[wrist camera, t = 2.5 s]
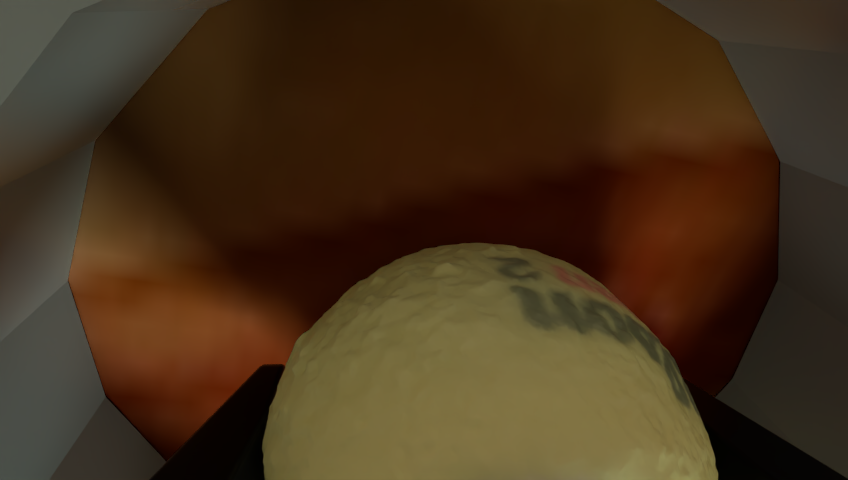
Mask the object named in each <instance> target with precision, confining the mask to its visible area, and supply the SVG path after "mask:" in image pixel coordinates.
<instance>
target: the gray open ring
mask: <svg viewBox="0 0 848 480" xmlns="http://www.w3.org/2000/svg"><path fill="white" fill-rule="evenodd" d="M227 1H229V0H0V480H149V479H150V478H151V477H152V476H153V475H154V474H155V473H156V472H157V471H158V470H159V469H160V468H161V467H162V466H163V465H164V464H165V463H166V461H165V460H164V459H163V458H162V456H161V455H160V454H159V453H158V452H157V451H156V450H155V449H154V448H153V447H152V446H151V445H150V444H149V443H148V442H147V440H146V439H145V438H144V437H143V436H142V435H141V434H140V433H139V432H138V431H137V430H136V429H135V428H134V427H133V426H132V424H131V423H130V422H129V421H128V420H127V419H126V418H125V417H124V416H123V415H122V414H121V413H120V412H119V411H118V410H117V408H116V407H115V406H114V405H113V404H112V403H111V402H110V401H109V400H108V399H107V398H106V396H105V393H104V390H103V387H102V384H101V381H100V378H99V375H98V372H97V369H96V366H95V363H94V360H93V357H92V354H91V350H90V347H89V344H88V341H87V338H86V335H85V332H84V329H83V326H82V323H81V320H80V317H79V314H78V311H77V308H76V305H75V302H74V298H73V295H72V292H71V289H70V286H69V283H68V277H69V272H70V267H71V261H72V256H73V251H74V246H75V241H76V236H77V231H78V226H79V221H80V216H81V210H82V205H83V200H84V195H85V190H86V185H87V180H88V175H89V170H90V164H91V159H92V154H93V149H94V144H95V140H96V139H97V138H98V137H99V136H100V134H101V133H102V132H103V131H104V130H105V129H106V127H107V126H108V125H109V124H110V123H111V122H112V120H113V119H114V118H115V117H116V116H117V115H118V113H119V112H120V111H121V110H122V109H123V108H124V106H125V105H126V104H127V103H128V102H129V101H130V99H131V98H132V97H133V96H134V95H135V94H136V92H137V91H138V90H139V89H140V88H141V87H142V85H143V84H144V83H145V82H146V81H147V80H148V78H149V77H150V76H151V75H152V74H153V73H154V71H155V70H156V69H157V68H158V67H159V66H160V64H161V63H162V62H163V61H164V60H165V59H166V57H167V56H168V55H169V54H170V53H171V52H172V50H173V49H174V48H175V47H176V46H177V45H178V43H179V42H180V41H181V40H182V39H183V38H184V36H185V35H186V34H187V33H188V32H189V31H190V29H191V28H192V27H193V26H194V25H195V24H196V22H197V21H198V20H199V19H200V18H201V17H202V15H203V14H204V13H205V12H206V11H207V10H208V9H210V8H212V7H214V6H217V5H219V4H222V3H224V2H227ZM656 1H658V2H659V3H661V4H663V5H664V6H666V7H667V8H669V9H670V10H672V11H673V12H675V13H676V14H678V15H680V16H681V17H683V18H684V19H686V20H687V21H689V22H690V23H692V24H693V25H695V26H697V27H698V28H700V29H701V30H703V31H704V32H706V33H707V34H709V35H710V36H712V37H714V38H715V39H717V40H718V41H719V43H720V45H721V47H722V49H723V51H724V52H725V54H726V56H727V58H728V60H729V62H730V64H731V66H732V68H733V70H734V72H735V74H736V76H737V78H738V80H739V82H740V84H741V86H742V88H743V90H744V91H745V93H746V95H747V97H748V99H749V101H750V103H751V105H752V107H753V109H754V111H755V113H756V115H757V117H758V119H759V121H760V123H761V125H762V127H763V129H764V130H765V132H766V134H767V136H768V138H769V140H770V142H771V144H772V146H773V148H774V150H775V152H776V154H777V156H778V158H779V160H780V202H779V250H778V281H777V283H776V285H775V287H774V289H773V292H772V294H771V296H770V298H769V300H768V302H767V305H766V307H765V309H764V311H763V313H762V315H761V318H760V320H759V322H758V324H757V326H756V329H755V331H754V333H753V335H752V337H751V339H750V342H749V344H748V346H747V348H746V350H745V352H744V355H743V357H742V359H741V361H740V363H739V366H738V368H737V370H736V372H735V374H734V376H733V379H732V380H731V381H730V382H729V383H728V384H727V385H726V386H725V388H724V389H723V390H722V391H721V392H720V393H719V394H718V395H717V396H716V397H715V398H717V399H718V400H720V401H722V402H723V403H725V404H726V405H728V406H730V407H731V408H733V409H735V410H736V411H738V412H740V413H741V414H743V415H744V416H746V417H748V418H749V419H751V420H753V421H754V422H756V423H758V424H759V425H761V426H763V427H764V428H766V429H767V430H769V431H771V432H772V433H774V434H776V435H777V436H779V437H781V438H782V439H784V440H786V441H787V442H789V443H790V444H792V445H794V446H795V447H797V448H799V449H800V450H802V451H804V452H805V453H807V454H809V455H810V456H812V457H813V458H815V459H817V460H818V461H820V462H822V463H823V464H825V465H827V466H828V467H830V468H832V469H833V470H835V471H836V472H838V473H840V474H841V475H843V476H845V477H846V478H848V0H656Z"/></svg>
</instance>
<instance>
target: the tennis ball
mask: <svg viewBox="0 0 848 480" xmlns="http://www.w3.org/2000/svg"><path fill="white" fill-rule="evenodd" d="M262 451H263V455H264V457H263V464H264V477H265V480H718V471H717V469H716V467H715V460H716V459H715V456H714V452H713V449H712V447H711V443H710V440H709V435H708V433H707V431H706V430H705V427H704V425H703V422H702V420H701V417H700V415H699V411H698V410H697V408H696V405H695V403H694V400H693V398H692V395H691V393H690V391H689V389H688V387H687V385H686V384H685V382H684V380H683V378H682V376H681V374H680V371H679V368H678V366H677V364H676V362H675V359H674V358H673V357H672V356H671V355H670V352H669V351H668V350H667V349H666V348H665V347H664V346H663V345H662V344H661V343H660V341H659V339H658V337H657V336H656V335H654V334H653V333H652V332H651V331H650V329H649V328H648V327H647V326H646V325H645V324H644V323H643V322H641V321H640V320H639V318H638V317H637V316H636V315H635V314H634V313H633V312H631V311H630V310H629V309H628V308H627V307H626V306H625V305H624V304H623V303H622V302H621V301H619V300H618V299H617V298H616V297H615V296H614V295H613V294H612V293H611V292H610V291H609V290H608V289H607V288H606V287H605V286H604V285H602V284H601V283H600V282H598V281H597V280H595V279H594V278H592V277H591V276H589V275H588V274H587V273H585V272H583V271H582V270H580V269H579V268H577V267H575V266H573V265H571V264H569V263H567V262H565V261H563V260H560V259H557V258H554V257H550V256H548V255H545V254H542V253H540V252H538V251H536V250H532V249H527V248H518V247H516V246H511V245H504V244H488V243H461V244H454V245H441V246H438V247H436V248H425V249H422V250H421V251H419V252H416V253H413V254H410V255H407V256H403V257H402V258H400V259H396V260H394V261H393V262H392V263H391V264H388V265H386V266H383V267H381V268H379V269H378V270H377V271H376V272H375V273H373V274H372V275H370V276H369V277H368V278H366V279H364V280H361V281H359V282H357V284H356V285H354V286H352V287H351V288H350V289H349V290H348V291H347V292H345V293H344V294H343V295H342V297H341V298H340V299H339V300H338V301H337V303H335V304H334V305H333V306H332V307H331V308H330V309H329V310H328V311H327V312H325V313H324V314H323V316H322V317H321V318H320V319H319V320H318V321H317V322H316V323H315V324H314V325H313V327H312V328H311V329H309V330H308V331H307V332H304V333H303V334H302V335H301V336H300V337H299V338H298V339H297V341H296V342H295V345H294V347H293V350H292V353H291V355H290V357H289V359H288V361H287V363H286V366H285V370H284V372H283V374H282V377H281V379H280V381H279V384H278V386H277V392H276V395H275V397H274V400H273V402H272V404H271V405H270V408H269V415H268V420H267V424H266V429H265V433H264V438H263V443H262Z"/></svg>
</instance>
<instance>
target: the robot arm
mask: <svg viewBox="0 0 848 480" xmlns="http://www.w3.org/2000/svg"><path fill="white" fill-rule="evenodd" d="M284 370H285V366H284V365H283V364H265V365H262V366H260V367H259V368H258V369H257V370H256V371H255V372H254V373H253V374H252V375H251V376H250V377H249V378H248V379H247V380H246V381H245V382H244V383H243V384H242V385H241V386H240V387H239V388H238V389H237V390H236V391H235V392H234V393H233V394H232V395H231V396H230V398H229V399H228V400H227V401H226V402H225V403H224V404H223V405H222V406H221V407H220V408H219V409H218V410H217V411H216V412H215V413H214V414H213V415H212V416H211V417H210V418H209V419H208V420H207V421H206V422H205V423H204V424H203V425H202V426H201V427H200V428H199V429H198V430H197V431H196V432H195V433H194V434H193V435H192V436H191V437H190V438H189V439H188V440H187V441H186V442H185V443H184V444H183V445H182V446H181V447H180V448H179V449H178V450H177V451H176V452H175V453H174V454H173V455H172V456H171V457H170V458H169V460H168V461H167V462H166V463H165V464H164V465H163V466H162V467H161V468H160V469H159V470H158V471H157V472H156V473H155V474H154V475H153V476H152V477H151V478H150V479H149V480H265V477H264V464H263V457H264V455H263V451H262V443H263V438H264V433H265V429H266V424H267V420H268V415H269V408H270V405H271V404H272V402H273V400H274V397H275V395H276V392H277V386H278V384H279V381H280V379H281V377H282V374H283V372H284ZM683 380H684V382H685V384H686V385H687V387H688V389H689V391H690V393H691V395H692V398H693V400H694V403H695V405H696V408H697V410H698V411H699V415H700V417H701V420H702V422H703V425H704V427H705V430H706V431H707V433H708V435H709V440H710V443H711V447H712V449H713V452H714V456H715V459H716V460H715V467H716V469H717V471H718V480H848V478H846V477H845V476H843V475H841V474H840V473H838V472H836V471H835V470H833V469H832V468H830V467H828V466H827V465H825V464H823V463H822V462H820V461H818V460H817V459H815V458H813V457H812V456H810V455H809V454H807V453H805V452H804V451H802V450H800V449H799V448H797V447H795V446H794V445H792V444H790V443H789V442H787V441H786V440H784V439H782V438H781V437H779V436H777V435H776V434H774V433H772V432H771V431H769V430H767V429H766V428H764V427H763V426H761V425H759V424H758V423H756V422H754V421H753V420H751V419H749V418H748V417H746V416H744V415H743V414H741V413H740V412H738V411H736V410H735V409H733V408H731V407H730V406H728V405H726V404H725V403H723V402H722V401H720V400H718V399H717V398H715V397H713V396H712V395H710V394H708V393H707V392H705V391H703V390H702V389H700V388H699V387H697V386H695V385H694V384H692V383H690V382H689V381H687V380H685V379H684V378H683Z"/></svg>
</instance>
